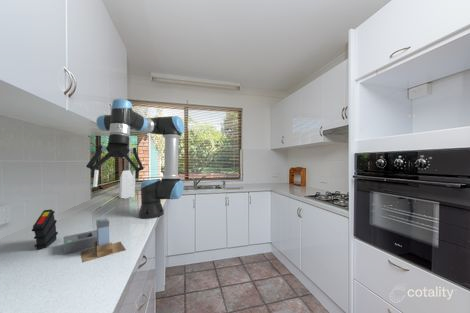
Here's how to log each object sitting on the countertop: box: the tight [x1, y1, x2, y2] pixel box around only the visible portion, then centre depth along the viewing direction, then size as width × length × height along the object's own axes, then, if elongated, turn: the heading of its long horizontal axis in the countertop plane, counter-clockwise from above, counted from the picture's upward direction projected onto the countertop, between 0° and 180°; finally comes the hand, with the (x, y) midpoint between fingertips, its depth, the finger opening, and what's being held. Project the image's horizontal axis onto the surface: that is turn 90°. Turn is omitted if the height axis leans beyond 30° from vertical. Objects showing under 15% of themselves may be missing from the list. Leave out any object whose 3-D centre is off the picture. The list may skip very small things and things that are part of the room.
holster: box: [79, 240, 127, 263], centre depth 81 cm, size 14×11×4 cm
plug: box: [95, 217, 110, 246], centre depth 81 cm, size 4×5×12 cm
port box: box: [62, 229, 97, 256], centre depth 87 cm, size 14×10×5 cm
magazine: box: [31, 209, 59, 251], centre depth 91 cm, size 4×13×15 cm, turn 21°
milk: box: [118, 169, 136, 199], centre depth 201 cm, size 12×12×26 cm
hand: (114, 186), depth 83 cm, fingers open, 13 cm apart
